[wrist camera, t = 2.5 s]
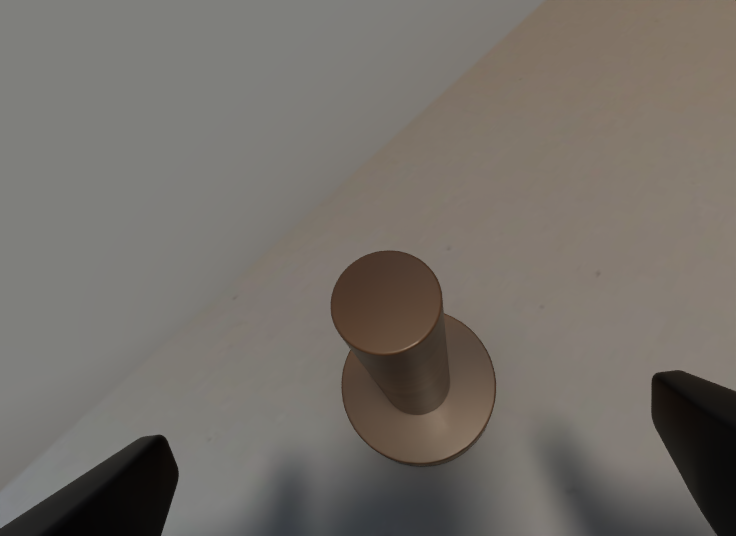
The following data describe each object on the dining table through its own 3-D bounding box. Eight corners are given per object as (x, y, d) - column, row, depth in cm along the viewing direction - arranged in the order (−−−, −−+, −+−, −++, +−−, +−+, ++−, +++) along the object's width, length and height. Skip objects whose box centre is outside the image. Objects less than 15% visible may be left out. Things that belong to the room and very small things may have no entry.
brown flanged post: (520, 431, 17) (579, 370, 9) (378, 490, 17) (298, 487, 9) (455, 300, 20) (451, 155, 11) (331, 352, 20) (234, 244, 11)
